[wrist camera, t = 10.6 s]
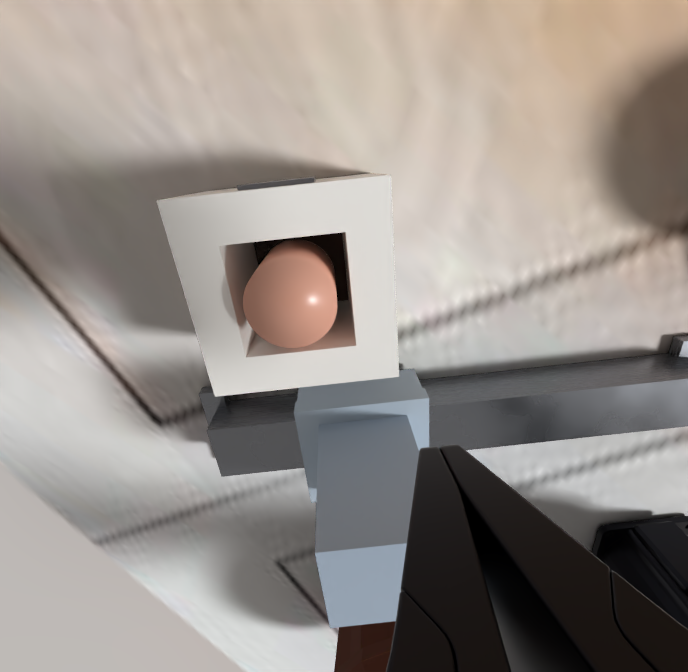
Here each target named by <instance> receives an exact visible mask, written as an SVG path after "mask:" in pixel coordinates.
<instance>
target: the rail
mask: <svg viewBox="0 0 688 672" xmlns="http://www.w3.org/2000/svg"><path fill="white" fill-rule="evenodd" d="M419 381H420V384H421V386H422V388H425V390H426V392H427V394H428V396H429V447H434V446H436V447H438V448H439V447H441V446H444V445H453V444H456V445H459V446H461V447H462V448H463V449H464V450H472V449H481V448H491V447H500V446H509V445H518V444H528V443H537V442H546V441H555V440H565V439H574V438H583V437H592V436H602V435H611V434H620V433H629V432H639V431H648V430H657V429H666V428H676V427H685V426H688V335H684V336H675V337H674V338H673V341H672V344H671V347H670V350H669V353H666V354H656V355H647V356H638V357H629V358H620V359H610V360H601V361H592V362H583V363H573V364H564V365H555V366H546V367H537V368H527V369H518V370H509V371H500V372H490V373H481V374H472V375H463V376H453V377H444V378H435V379H426V380H419ZM199 396H200V399H201V402H202V405H203V409H204V412H205V415H206V418H207V421H208V424H209V427H208V429H207V433H208V436H209V439H210V442H211V445H212V448H213V451H214V454H215V457H216V460H217V463H218V467H219V470H220V473H221V476H231V475H241V474H250V473H259V472H268V471H278V470H287V469H296V468H304V463H303V458H302V452H301V447H300V442H299V437H298V432H297V427H296V421H295V416H294V408H295V402H297V398H298V393H297V394H287V395H278V396H269V397H260V398H250V399H241V400H232V401H229V398H228V395H227V396H217V397H215V395H214V392H213V389H212V387H204V388H202V389H201V391H200V393H199Z"/></svg>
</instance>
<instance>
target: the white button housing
mask: <svg viewBox="0 0 688 672" xmlns="http://www.w3.org/2000/svg"><path fill="white" fill-rule="evenodd" d="M156 201H157V205H158V208H159V211H160V215H161V218H162V221H163V225H164V228H165V231H166V235H167V238H168V241H169V245H170V248H171V252H172V255H173V258H174V262H175V265H176V268H177V272H178V275H179V278H180V282H181V285H182V288H183V292H184V295H185V298H186V302H187V305H188V308H189V312H190V315H191V318H192V322H193V325H194V328H195V332H196V335H197V339H198V342H199V345H200V349H201V352H202V355H203V359H204V362H205V365H206V369H207V372H208V375H209V379H210V382H211V385H212V389H213V392H214V395H215V397H217V396H227V395H236V394H245V393H254V392H264V391H273V390H282V389H291V388H300V387H310V386H319V385H328V384H337V383H347V382H356V381H365V380H374V379H384V378H393V377H399V359H398V334H397V309H396V284H395V259H394V234H393V210H392V185H391V175H388V174H376V173H368V174H359V175H350V176H341V177H332V178H323V179H316V178H315V176H314V177H305V178H296V179H286V180H277V181H268V182H259V183H250V184H243V185H238V186H237V188H231V189H222V190H213V191H205V192H199V193H194V194H188V195H183V196H178V197H172V198H167V199H161V200H156ZM332 233H342V238H343V248H344V258H345V268H346V279H347V289H348V299H349V300H345V301H337V314H336V318H335V321H334V323H333V325H332V327H331V328H330V330H329V331H328V332H327V333H326V334H325V336H324V337H322V338H321V339H320V340H318V341H317V342H315V343H313V344H310V345H308V346H304V347H299V348H285V347H280V346H277V345H274V344H271V343H269V342H267V341H266V340H264V339H263V338H261V337H260V336H259V335H258V334H257V333H256V332H255V331H254V330H253V329H252V328H251V326H250V324H249V323H248V321H247V319H246V316H245V313H244V309H243V295H244V290H245V287H246V285H247V283H248V281H249V279H250V278H251V276H252V275H253V274H254V272H255V271H256V269H257V268H258V263H257V258H256V253H255V248H254V243H253V242H259V241H268V240H277V239H286V238H296V237H305V236H314V235H323V234H332Z"/></svg>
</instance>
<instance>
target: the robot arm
mask: <svg viewBox="0 0 688 672" xmlns="http://www.w3.org/2000/svg"><path fill="white" fill-rule="evenodd" d="M386 672H688V516H682V517H673V518H664V519H654V520H645V521H636V522H627V523H617V524H608V525H604V526H602V527H600V528H599V530H598V533H597V536H596V540H595V543H594V547H593V550H592V553H591V552H590V551H589V550H587V549H586V548H585V547H584V546H582V545H581V544H580V543H579V542H578V541H576V540H575V539H574V538H573V537H571V536H570V535H569V534H568V533H566V532H565V531H564V530H563V529H562V528H560V527H559V526H558V525H557V524H555V523H554V522H553V521H552V520H550V519H549V518H548V517H547V516H546V515H544V514H543V513H542V512H541V511H539V510H538V509H537V508H536V507H534V506H533V505H532V504H531V503H530V502H528V501H527V500H526V499H525V498H523V497H522V496H521V495H520V494H518V493H517V492H516V491H515V490H514V489H512V488H511V487H510V486H509V485H507V484H506V483H505V482H504V481H503V480H501V479H500V478H499V477H498V476H496V475H495V474H494V473H493V472H491V471H490V470H489V469H488V468H487V467H485V466H484V465H483V464H482V463H480V462H479V461H478V460H477V459H475V458H474V457H473V456H472V455H471V454H469V453H468V452H467V451H466V450H464V449H463V448H462V447H461V446H459V445H456V444H453V445H444V446H441V447H439V448H438V447H436V446H434V447H424V448H421V449H420V450H419V457H418V464H417V472H416V479H415V486H414V494H413V501H412V508H411V516H410V523H409V530H408V538H407V545H406V552H405V559H404V567H403V574H402V581H401V592H400V594H399V602H398V609H397V616H396V622H395V628H394V634H393V640H392V645H391V651H390V656H389V660H388V664H387V668H386Z"/></svg>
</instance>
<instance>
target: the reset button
mask: <svg viewBox="0 0 688 672" xmlns="http://www.w3.org/2000/svg"><path fill="white" fill-rule="evenodd" d="M243 309H244V313H245V316H246V319H247V321H248V323H249V324H250V326H251V328H252V329H253V330H254V331H255V332H256V333H257V334H258V335H259V336H260V337H261V338H263V339H264V340H266V341H267V342H269V343H271V344H274V345H277V346H280V347H285V348H299V347H304V346H308V345H310V344H313V343H315V342H317V341H318V340H320V339H321V338H322V337H324V336H325V334H326V333H327V332H328V331H329V330H330V328H331V327H332V325H333V323H334V321H335V318H336V314H337V293H336V281H335V271H334V266H333V263H332V261H331V259H330V258H329V256H328V255H327V253H326V252H325V251H324V250H323V249H322V248H321V247H319V246H318V245H316V244H314V243H312V242H310V241H307V240H302V239H291V240H287V241H283V242H281V243H279V244H277V245H276V246H274V247H273V248H272V249H271V250H270V251H269V252H268V254H267V255H266V256H265V258H264V259H263V261H262V262H261V264H260V265H259V266H258V268H257V269H256V271H255V272H254V274H253V275H252V276H251V278H250V279H249V281H248V283H247V285H246V287H245V290H244V295H243Z"/></svg>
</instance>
